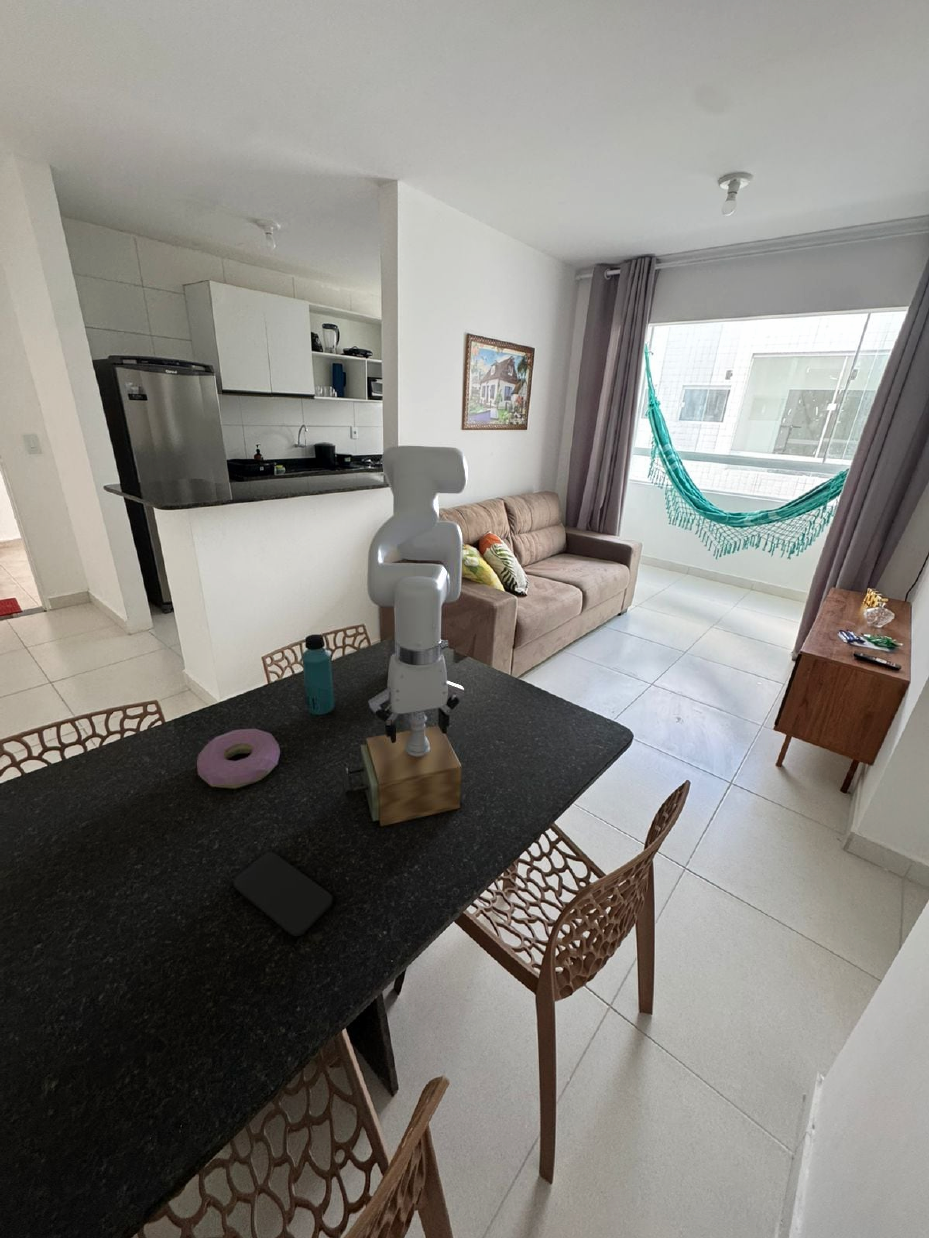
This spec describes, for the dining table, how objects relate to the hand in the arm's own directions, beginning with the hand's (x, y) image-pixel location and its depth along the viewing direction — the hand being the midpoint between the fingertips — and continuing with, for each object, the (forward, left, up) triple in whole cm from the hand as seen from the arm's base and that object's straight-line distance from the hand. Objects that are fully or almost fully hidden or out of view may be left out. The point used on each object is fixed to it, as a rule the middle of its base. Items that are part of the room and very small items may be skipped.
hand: (417, 733), depth 93 cm
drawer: (0, -5, -13) cm, 13 cm away
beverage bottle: (-32, -15, -14) cm, 38 cm away
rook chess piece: (0, 0, -4) cm, 4 cm away
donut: (-17, -32, -14) cm, 39 cm away
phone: (+15, -25, -14) cm, 32 cm away
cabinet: (0, -1, -14) cm, 14 cm away
